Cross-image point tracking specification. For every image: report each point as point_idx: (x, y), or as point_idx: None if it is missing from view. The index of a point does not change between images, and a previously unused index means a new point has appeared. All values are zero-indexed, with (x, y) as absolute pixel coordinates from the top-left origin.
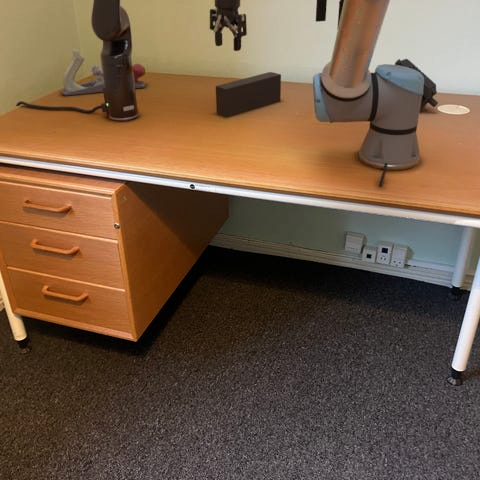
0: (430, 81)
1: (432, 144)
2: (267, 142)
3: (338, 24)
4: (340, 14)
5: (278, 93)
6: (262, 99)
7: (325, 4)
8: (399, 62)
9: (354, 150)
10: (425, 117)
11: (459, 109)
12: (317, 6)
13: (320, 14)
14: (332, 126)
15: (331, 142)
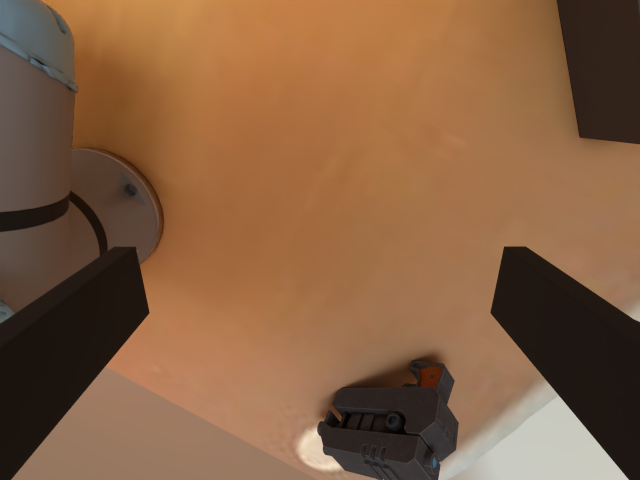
0: (351, 468)
1: (161, 327)
2: None
3: (98, 262)
4: (28, 311)
5: (597, 130)
6: (583, 56)
7: (571, 395)
8: (408, 461)
9: (160, 165)
10: (305, 389)
11: (323, 457)
12: (586, 307)
13: (525, 298)
14: (324, 188)
15: (221, 135)
